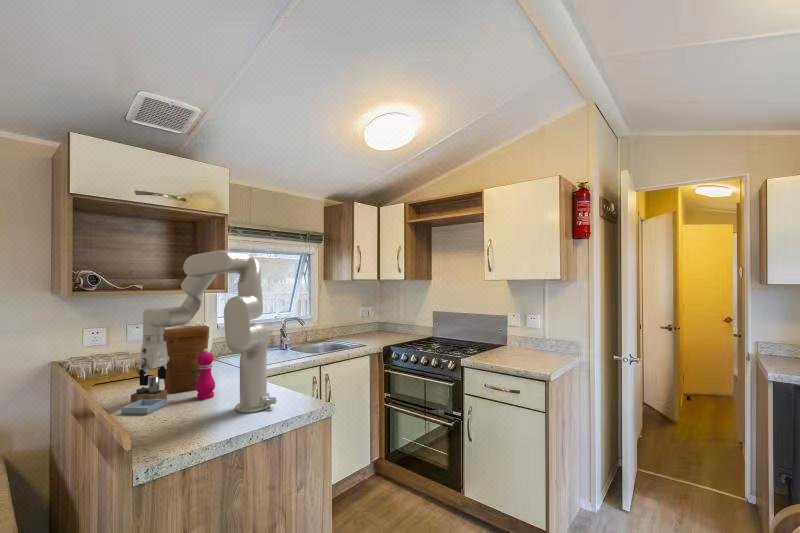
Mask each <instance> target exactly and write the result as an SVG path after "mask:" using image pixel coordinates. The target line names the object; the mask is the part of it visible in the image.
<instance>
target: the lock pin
mask: <svg viewBox="0 0 800 533" xmlns="http://www.w3.org/2000/svg"><path fill="white" fill-rule="evenodd" d="M148 388H149V394H157V393H159V390H160V379H159V376H158V375H154V376H153V375H152V376H150V377H149V376H148Z"/></svg>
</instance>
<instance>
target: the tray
mask: <svg viewBox="0 0 800 533" xmlns="http://www.w3.org/2000/svg"><path fill="white" fill-rule="evenodd" d="M167 401H168V398H167V399H141V400H139V401H136V402H134V403H131V402H130V404H127V405H124V406H122V407H121V415H125V416H126V415H127V414H128V415H132V414H133V415H132V416H135V415H136V416H139V415H140V416H147V415H150V414H153V413H155V412H157V411H159V410H161V409H164V408H165V407H167ZM128 415H127V416H128Z"/></svg>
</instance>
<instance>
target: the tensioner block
mask: <svg viewBox="0 0 800 533" xmlns="http://www.w3.org/2000/svg"><path fill="white" fill-rule="evenodd" d="M141 399H167V400H168V393H167V390H164V389H159V393H157V394H149V387H145V386H141V388H137V389H136V390H135V392H134V393H131V394H130V404H131V403H134V402H136V401H139V400H141Z"/></svg>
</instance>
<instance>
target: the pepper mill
mask: <svg viewBox="0 0 800 533" xmlns="http://www.w3.org/2000/svg"><path fill="white" fill-rule="evenodd" d="M203 352H204V353H201V354H200V355H199V356H198V359H197V360H198V363H199V364H200V365H199V369H200V376H199V379H198V381H197V384H196V390H195V391H196V392H197V394H196V399H197V400H209V399H212V398H214V397H215V392H214V390H215V388H216V382H215V380H214V378H213V375H212V368H213V362H214V360H215V359H214V358H215V357H214V355H213V353H211V352H209V349H204V350H203Z"/></svg>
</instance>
